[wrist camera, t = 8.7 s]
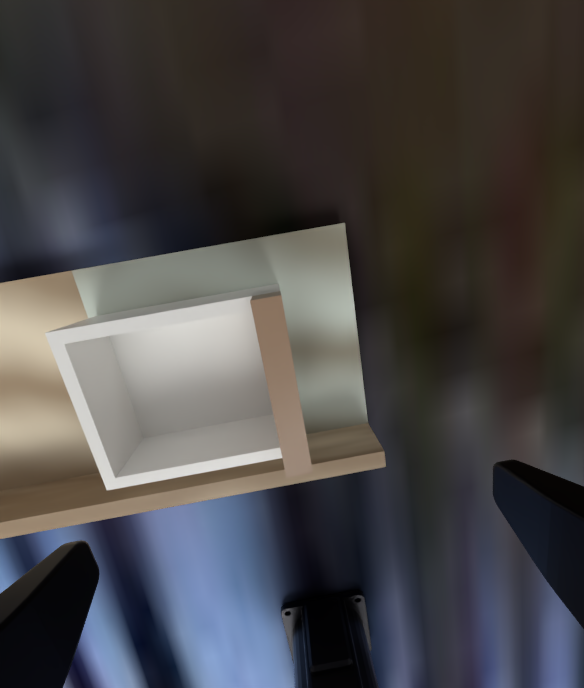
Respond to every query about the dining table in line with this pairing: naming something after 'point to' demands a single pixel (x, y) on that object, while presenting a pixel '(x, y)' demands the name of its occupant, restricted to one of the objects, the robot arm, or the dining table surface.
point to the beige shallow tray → (160, 288)
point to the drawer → (185, 387)
